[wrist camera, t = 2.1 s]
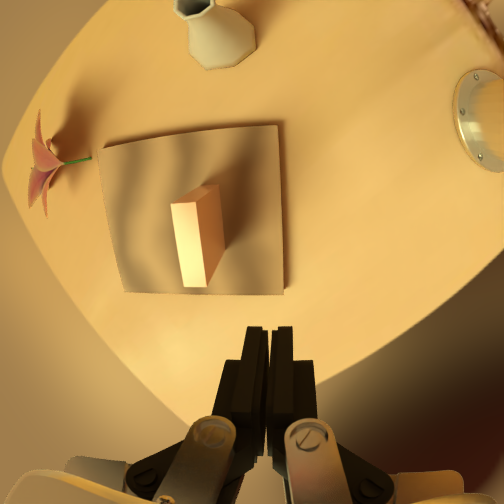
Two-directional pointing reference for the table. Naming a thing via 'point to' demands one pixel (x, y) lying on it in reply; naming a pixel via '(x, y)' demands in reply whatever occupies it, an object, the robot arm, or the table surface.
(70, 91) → the table surface
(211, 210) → the tile
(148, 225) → the board
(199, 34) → the flask
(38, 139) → the lily
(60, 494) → the robot arm
